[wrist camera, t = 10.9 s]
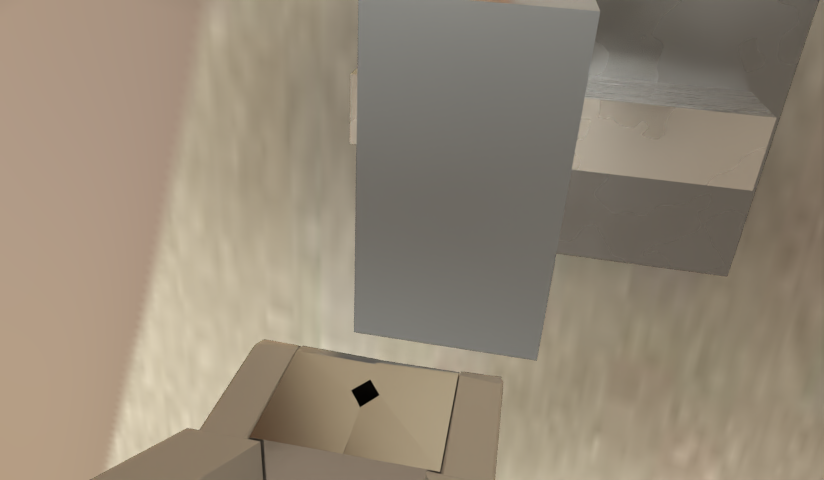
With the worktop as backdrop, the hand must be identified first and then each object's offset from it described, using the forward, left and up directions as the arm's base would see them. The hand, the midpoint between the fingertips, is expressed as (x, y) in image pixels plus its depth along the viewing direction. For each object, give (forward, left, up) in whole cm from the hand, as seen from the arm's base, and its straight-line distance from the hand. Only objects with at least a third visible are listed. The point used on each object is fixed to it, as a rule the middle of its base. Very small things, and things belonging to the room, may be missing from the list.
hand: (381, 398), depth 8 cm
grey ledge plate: (-2, 0, -15) cm, 15 cm away
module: (0, 0, -14) cm, 14 cm away
